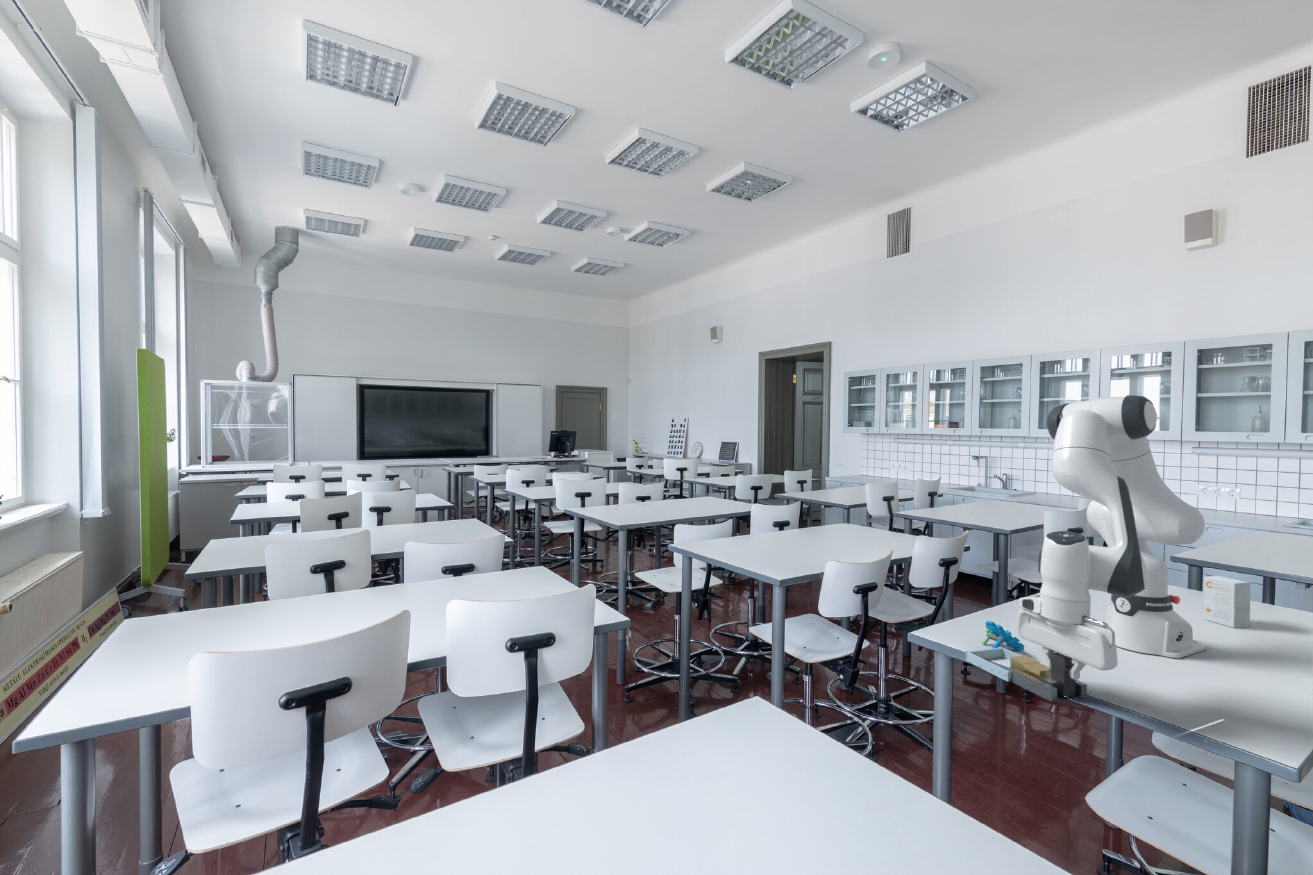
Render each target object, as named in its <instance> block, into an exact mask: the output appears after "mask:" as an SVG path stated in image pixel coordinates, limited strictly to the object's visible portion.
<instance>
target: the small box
mask: <svg viewBox="0 0 1313 875" xmlns="http://www.w3.org/2000/svg"><path fill="white" fill-rule="evenodd" d="M1202 598H1203V599H1202V600H1203V602H1202V604H1203V606H1202V610H1203V611H1202V619H1203V620H1204V621H1208V622H1212V623H1216V624H1218V625H1221V626H1225V627H1229V628H1231V629H1237V628H1238V629H1239V628H1248V627H1250V626H1251V582H1249V581H1245V580H1241V579H1235V578H1230V577H1225V576H1221V575H1213V576H1212V575H1211V576H1209V575H1208V576H1204V577H1203V597H1202Z"/></svg>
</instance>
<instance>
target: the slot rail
mask: <svg viewBox="0 0 1313 875" xmlns="http://www.w3.org/2000/svg"><path fill="white" fill-rule="evenodd" d="M1010 682H1011V683H1013V684H1015V685H1017V686H1020V687H1022V688H1023V689H1026V690H1027V691H1029V692H1031V693H1033V694H1035V695H1037V696H1038V697H1041V698H1043V699H1045V700H1047V701H1049V702H1052V703H1053V702H1059V701H1065V700H1072V699H1080V698H1086V697H1087V693H1088V692H1087V691H1088V690H1087V689H1088V684H1087V683H1086V682H1083V681H1080V680H1079V679H1077V680H1075V695H1069V696H1067V697H1064V696H1063V695H1060V694H1058V693H1057V688H1055V687H1053V686H1051V685H1049V684H1047V683H1045V682H1043V681H1041V680H1038V679H1036V678H1034V677H1032V676H1030V675H1028V674H1026V673H1024V672H1022V671H1020V670H1017V669H1012V670H1011V674H1010ZM1068 697H1069V698H1068Z"/></svg>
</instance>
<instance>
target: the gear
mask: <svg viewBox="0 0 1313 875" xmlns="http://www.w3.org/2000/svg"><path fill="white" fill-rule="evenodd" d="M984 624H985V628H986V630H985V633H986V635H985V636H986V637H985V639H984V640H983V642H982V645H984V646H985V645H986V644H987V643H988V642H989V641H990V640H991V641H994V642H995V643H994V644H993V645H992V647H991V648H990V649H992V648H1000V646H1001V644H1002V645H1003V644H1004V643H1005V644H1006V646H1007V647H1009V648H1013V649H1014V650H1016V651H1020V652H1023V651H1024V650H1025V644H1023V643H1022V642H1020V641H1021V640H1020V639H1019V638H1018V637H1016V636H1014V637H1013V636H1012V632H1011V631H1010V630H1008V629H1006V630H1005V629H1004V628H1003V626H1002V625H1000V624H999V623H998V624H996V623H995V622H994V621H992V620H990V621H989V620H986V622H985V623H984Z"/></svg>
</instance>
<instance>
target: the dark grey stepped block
mask: <svg viewBox="0 0 1313 875" xmlns="http://www.w3.org/2000/svg"><path fill="white" fill-rule="evenodd" d="M1073 666H1074V664H1073V663H1072V658H1070V657H1068V656H1065V655H1063V654H1060V653H1058V652H1054V653H1051V676H1046V677H1039V680H1041V681H1043V682H1045V683H1047V684H1049V685H1051V686H1053V687H1055V688H1057V693H1058V694H1060V695H1063V696H1069V695H1075V680H1074V679H1071V678H1069V677H1068V676H1067V669H1071V668H1072V667H1073Z"/></svg>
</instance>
